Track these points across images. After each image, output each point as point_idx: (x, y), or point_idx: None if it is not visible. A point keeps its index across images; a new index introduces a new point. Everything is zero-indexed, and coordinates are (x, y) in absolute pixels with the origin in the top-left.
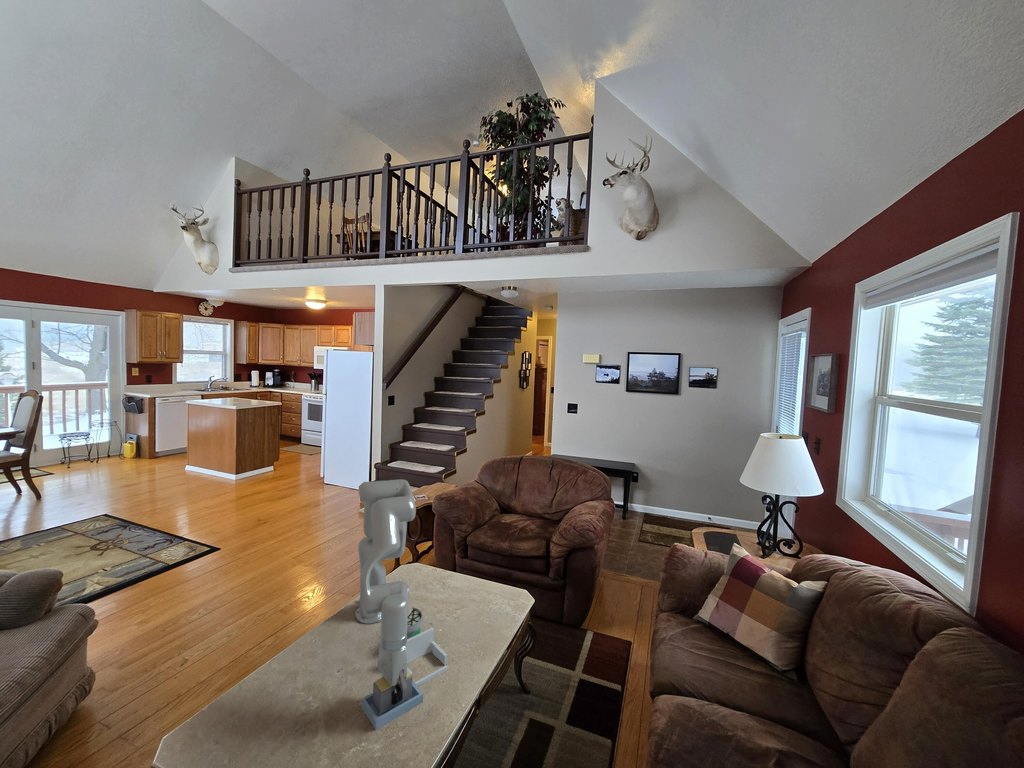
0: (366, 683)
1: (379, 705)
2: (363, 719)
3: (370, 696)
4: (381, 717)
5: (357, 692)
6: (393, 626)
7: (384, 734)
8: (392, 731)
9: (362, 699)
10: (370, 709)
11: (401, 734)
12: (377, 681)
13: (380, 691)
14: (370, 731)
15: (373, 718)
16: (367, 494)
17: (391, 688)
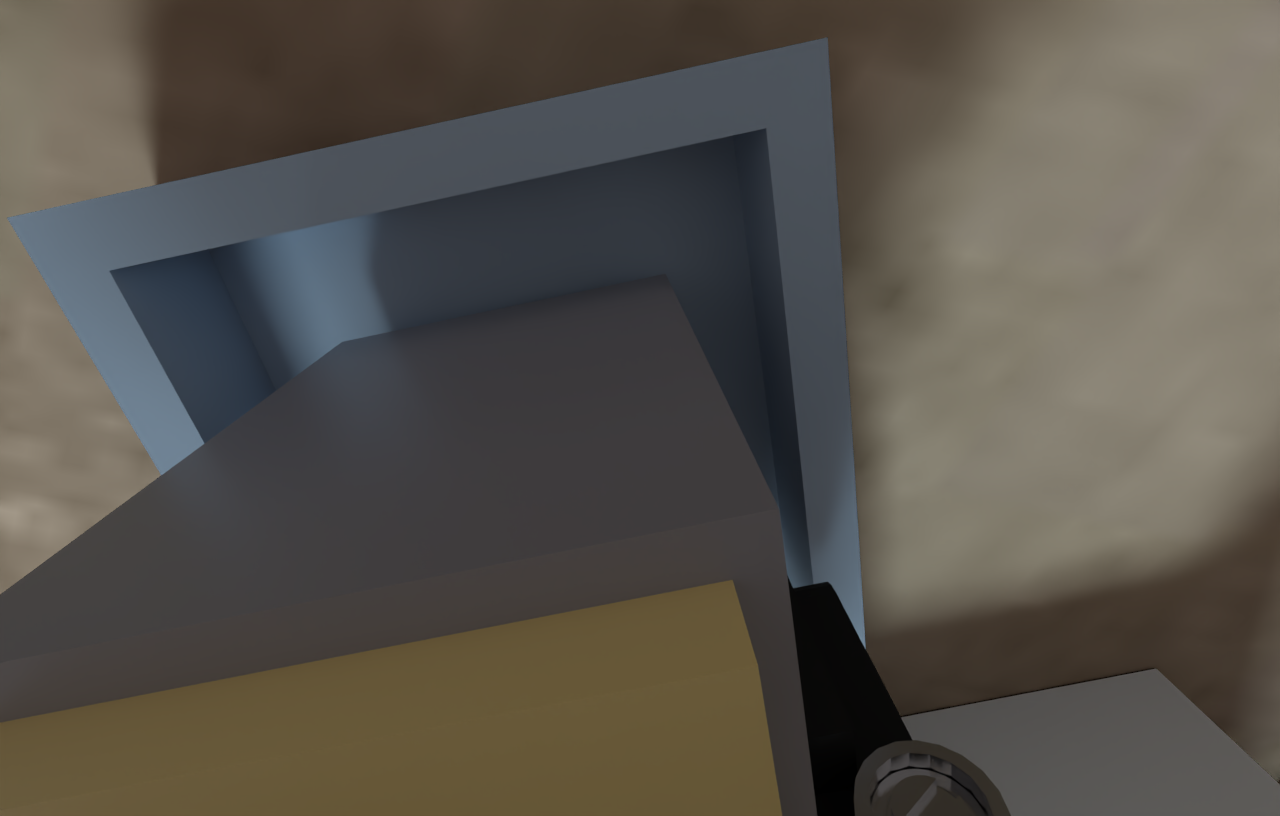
0: (1201, 270)
1: (318, 386)
2: (465, 34)
3: (779, 258)
4: (108, 348)
5: (1136, 71)
6: None
7: (40, 310)
8: (81, 427)
9: (795, 55)
10: (403, 173)
11: (6, 521)
12: (641, 760)
13: (53, 691)
14: (147, 99)
15: (158, 185)
16: None
17: None
